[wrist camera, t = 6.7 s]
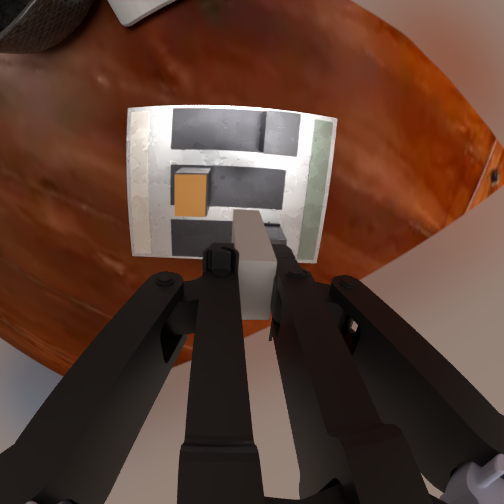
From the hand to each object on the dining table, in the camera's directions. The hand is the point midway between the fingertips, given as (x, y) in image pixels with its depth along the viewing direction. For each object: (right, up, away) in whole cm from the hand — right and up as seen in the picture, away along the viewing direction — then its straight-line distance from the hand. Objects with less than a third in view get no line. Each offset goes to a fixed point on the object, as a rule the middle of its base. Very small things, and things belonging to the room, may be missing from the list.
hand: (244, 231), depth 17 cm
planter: (-24, +29, +2) cm, 38 cm away
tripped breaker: (-5, +6, +11) cm, 14 cm away
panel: (-2, +6, +14) cm, 15 cm away
